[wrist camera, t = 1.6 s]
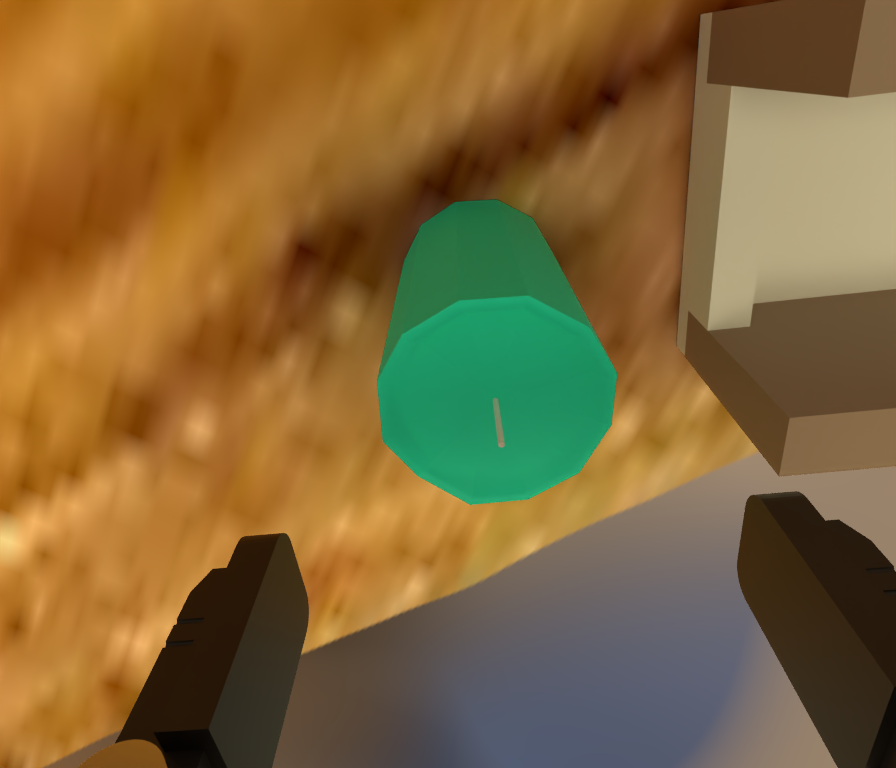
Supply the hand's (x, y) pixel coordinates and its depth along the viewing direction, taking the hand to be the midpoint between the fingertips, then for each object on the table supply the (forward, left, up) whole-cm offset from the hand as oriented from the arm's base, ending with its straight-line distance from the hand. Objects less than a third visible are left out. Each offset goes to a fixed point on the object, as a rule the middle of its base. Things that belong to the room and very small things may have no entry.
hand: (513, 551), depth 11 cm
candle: (0, 0, -15) cm, 15 cm away
